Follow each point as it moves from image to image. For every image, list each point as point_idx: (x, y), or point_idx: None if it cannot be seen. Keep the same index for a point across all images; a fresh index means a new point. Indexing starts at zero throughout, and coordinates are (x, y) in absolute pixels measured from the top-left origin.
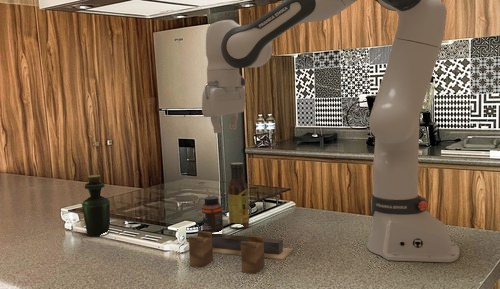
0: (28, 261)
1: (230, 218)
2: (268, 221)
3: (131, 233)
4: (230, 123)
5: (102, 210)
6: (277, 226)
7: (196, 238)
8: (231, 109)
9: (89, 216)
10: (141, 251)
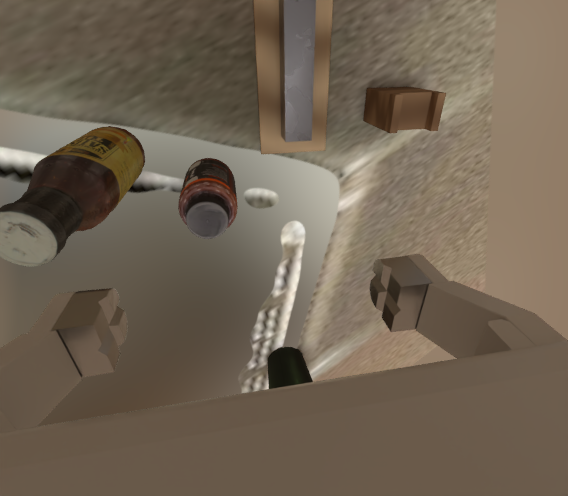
0: (411, 344)
1: (139, 174)
2: (13, 90)
3: (265, 321)
4: (105, 358)
5: (302, 381)
6: (44, 32)
7: (441, 107)
8: (240, 465)
9: None
10: (348, 247)
